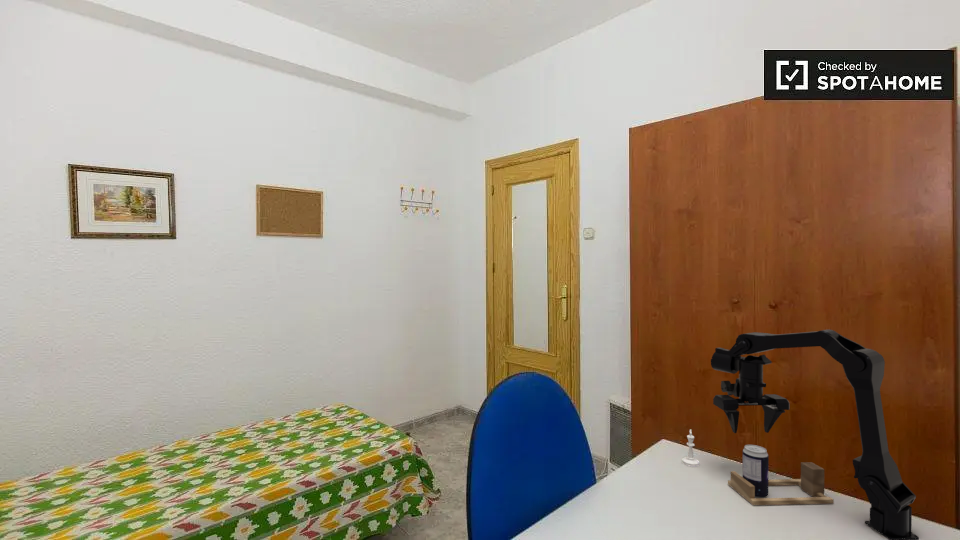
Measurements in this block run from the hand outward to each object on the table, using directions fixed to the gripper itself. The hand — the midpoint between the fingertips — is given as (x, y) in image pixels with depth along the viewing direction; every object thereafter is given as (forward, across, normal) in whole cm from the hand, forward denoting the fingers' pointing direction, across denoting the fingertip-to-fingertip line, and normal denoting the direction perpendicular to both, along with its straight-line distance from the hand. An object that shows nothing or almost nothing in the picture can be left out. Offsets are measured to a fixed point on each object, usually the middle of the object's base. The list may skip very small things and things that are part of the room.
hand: (750, 432), depth 124 cm
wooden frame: (+12, -1, +10) cm, 16 cm away
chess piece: (+12, +13, -8) cm, 20 cm away
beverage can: (+12, +6, +11) cm, 17 cm away
